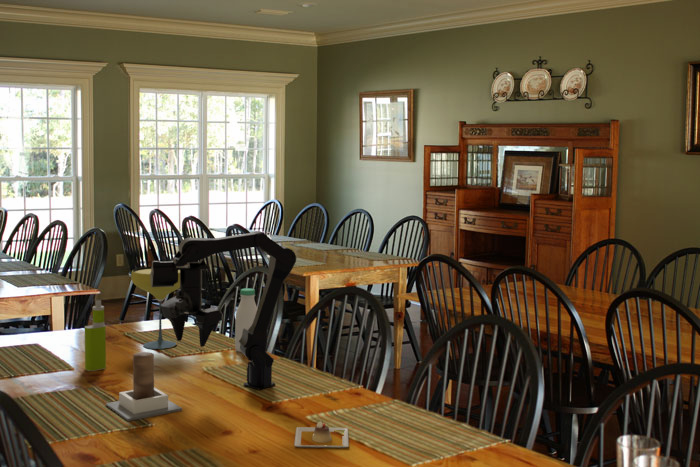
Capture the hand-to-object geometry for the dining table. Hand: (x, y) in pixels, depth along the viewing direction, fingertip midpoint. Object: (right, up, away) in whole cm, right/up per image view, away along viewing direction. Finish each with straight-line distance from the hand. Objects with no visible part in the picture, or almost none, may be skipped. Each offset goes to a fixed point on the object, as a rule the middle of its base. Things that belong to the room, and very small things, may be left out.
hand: (190, 343), depth 213 cm
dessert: (+36, -18, -31) cm, 51 cm away
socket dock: (-9, -14, -13) cm, 22 cm away
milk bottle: (+9, -9, +46) cm, 47 cm away
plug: (-9, -14, -13) cm, 21 cm away
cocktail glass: (-20, -8, +49) cm, 54 cm away
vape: (-32, -10, +21) cm, 40 cm away
